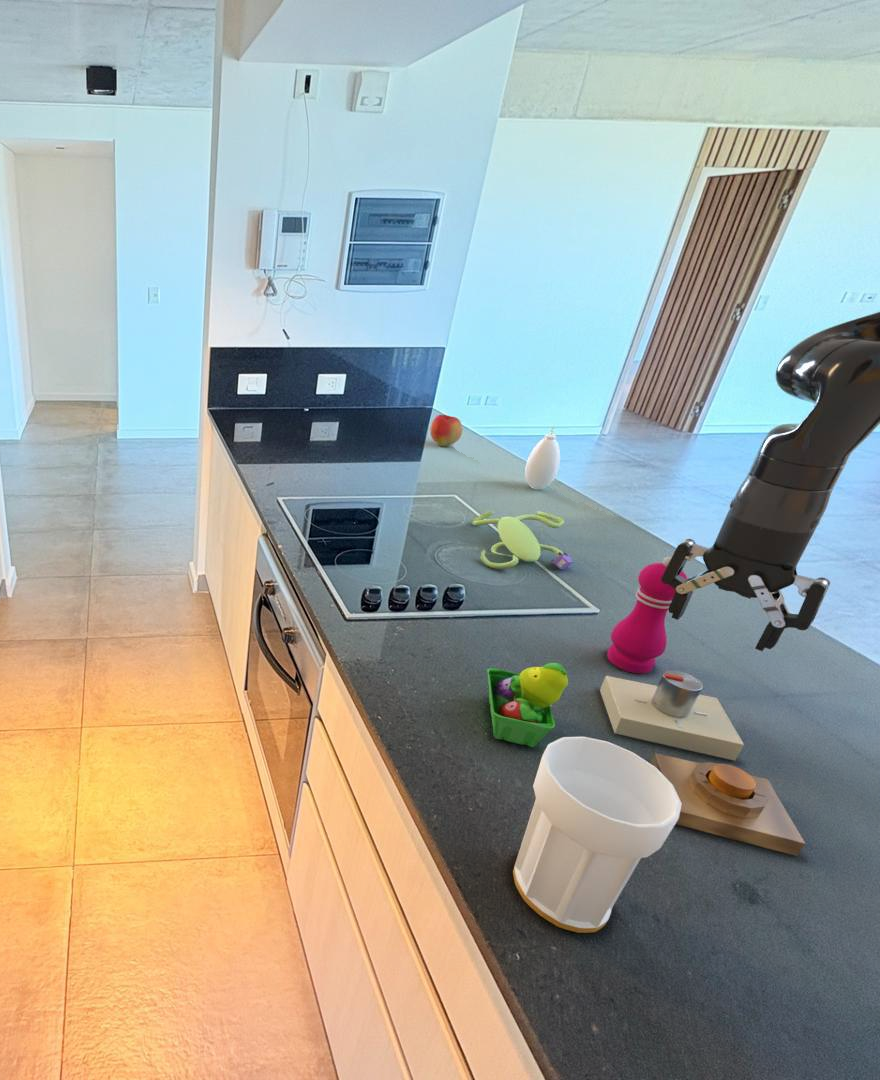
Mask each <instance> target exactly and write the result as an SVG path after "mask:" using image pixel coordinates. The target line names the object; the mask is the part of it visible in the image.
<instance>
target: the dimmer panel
mask: <svg viewBox="0 0 880 1080" xmlns="http://www.w3.org/2000/svg"><path fill="white" fill-rule="evenodd" d="M657 687H658V685H655V684H649V683H646V682H645V683H644V682H639V681H634V680H631V679H624V678H620V677H614V676H610V675H605V676H604V679H603V682H602V684H601V687H600V690H599V692H600V695H601V698H602V701H603V704H604V707H605V709H606V713H607V715H608V718H609V721H610V724H611V727H612V730H613V733H614V734H616V735H619V736H624V737H628V738H632V739H633V738H634V739H637V740H641V741H647V742H650V743H654V744H659V745H664V746H668V747H672V748H677V749H681V750H686V751H690V752H694V753H698V754H699V753H700V754H704V755H708V756H713V757H717V758H722V759H725V760H729V761H734V762H736V761H737V759H738V757H739V755H740V753H741V751H742V750H743V748H744V746H745V744H744V742H743V740H742V738H741V736H740V735H739V733H738V732H737V730H736V728H735V726H734V724H733V723H732V721H731V720H730V718H729V716H728V715H727V713H726V711H725V709H724V708H723V706H722V704H721V702H720V701H719V699H718V698H717V697H715V696H709V695H703V694H699V696H698V698H697V700H696V702H695V704H694V706H693V708H692V710H691V712H690V714H689V716H687V717H685V718H678V717H673V716H669V715H667V714H665V713H663V712H661V711H659V710H658V709H656V708H655V707H654V706H653V704H652V698H653V696H654V694H655V691H656V689H657Z"/></svg>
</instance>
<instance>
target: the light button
mask: <svg viewBox="0 0 880 1080" xmlns="http://www.w3.org/2000/svg"><path fill="white" fill-rule="evenodd" d="M750 775H751V774H750V773H748V772H746V771H745V770H743V769H741V768H739V767H737V766H735V765H731V764H728V763H717V765H715V766H714V767H713V769H712V771H711V773H710V774H709V776H708V780H709V782H710V784H711V785H713V786H714V787H715V788H716V789H717V790H718V791H720V792H722V793H724V794H726V795H728V796H730V797H734V798H738V799H742V800H743V799H748V798H749V797H750V796H751V794H752V792H753V791H754V789H755V787H756V782H755V781H754V779H753V778H752V777H751V776H750Z"/></svg>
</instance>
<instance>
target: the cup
mask: <svg viewBox="0 0 880 1080" xmlns="http://www.w3.org/2000/svg"><path fill="white" fill-rule="evenodd" d="M532 788H533V792H534V797H535V800H534V803H533V806H532V810H531V813H530V816H529V819H528V822H527V826H526V828H525V832H524V835H523V838H522V841H521V843H520V848H519V850H518V854H517V857H516V860H515V863H514V867H513V870H512V875H513V880H514V886H515V888H516V889H517V891H518V893H519V895H520V896H521V898H522V899H523V901H524V902H525V903H526V904H527V905H528V906H529V907H530V908H531V909H532V910H533V911H534V912H535V913H536V914H537V915H539V916H540V917H541V918H543V919H544V920H546V921H548V923H551V924H552V925H554V926H556V927H558V928H561V929H563V930H566V931H571V932H575V933H578V934H580V933H581V934H582V933H583V934H587V933H588V934H589V933H597V932H598V931H599V930H601V929H602V928H603V927H605V925H607V923H608V921H609V919H610V917H611V915H612V910H613V907H614V905H615V904H616V902H617V901H618V898H620V895H621V894H622V892H623V890H624V888H625V886H626V885H627V883H628V881H629V880H630V878H631V876H632V875H633V872H634V871H635V869H636V868H637V866H638V864H639V862H640V861H641V859H645V858H646V859H647V858H648V857H650V856H651V855H653V854H654V853H656V852H657V851H659V850H661V848H662V847H663V845H664V843H665V842H666V840H667V839H668V837H669V835H670V834H671V833H672V830H673V829H674V827H675V825H677V824H676V822H677V821H678V819H679V815H680V810H681V805H682V803H681V801H680V799H679V797H678V795H677V793H676V791H675V789H674V786H673V785H672V784H671V783H670V782H669V781H668V779H667V778H666V777H665V776H664V775H663V774H662V773H661V772H660V771H659V770H658V769H657V768H656V767H655V766H653V765H651V764H650V762H648V761H647V760H646V759H644V758H643V757H641V756H639V755H638V754H636V753H634V752H633V751H631V750H628V749H626V748H624V747H621V746H619V745H617V744H615V743H612V742H609V741H606V740H601V739H598V738H592V737H587V736H563V737H560V738H557V739H556V740H554V741H552V742H550V743H548V744H547V746H546V748H545V749H544V752H543V753H542V755H541V758H540V763H539V765H538V769H537V772H536V775H535V778H534V782H533V785H532Z"/></svg>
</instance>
